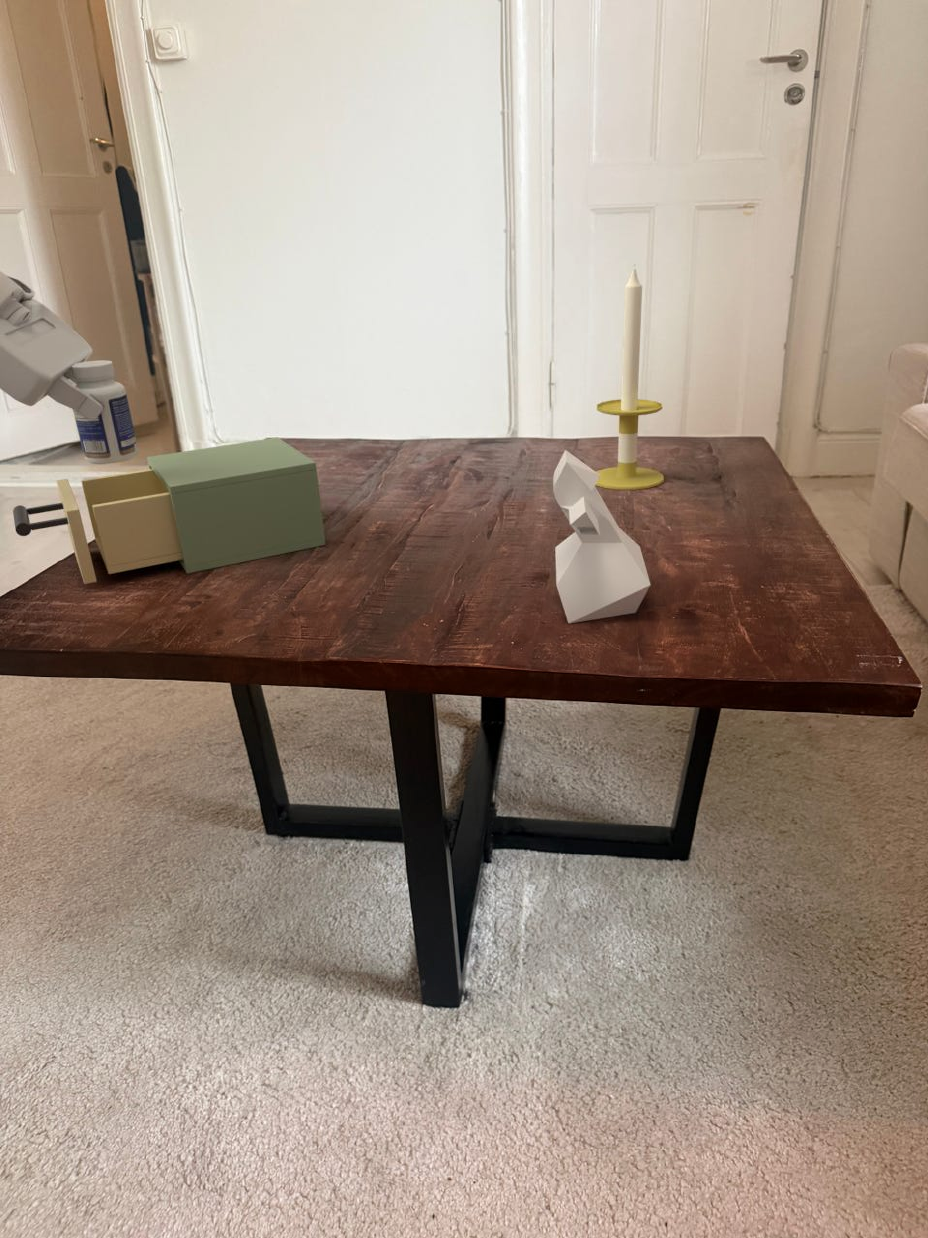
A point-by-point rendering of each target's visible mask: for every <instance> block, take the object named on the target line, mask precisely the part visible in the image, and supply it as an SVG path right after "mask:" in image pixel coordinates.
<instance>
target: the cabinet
mask: <svg viewBox="0 0 928 1238" xmlns="http://www.w3.org/2000/svg"><path fill="white" fill-rule="evenodd" d="M146 460H147V465H148V469H153V470H154V472H155V473H156V474H157V476H158V477H159V478H160V480H161V481H162V482H163V484H164V485H165V486H166V488H167V489H168V490H169V491H170V496H171V501H172V506H173V511H174V516H175V521H176V526H177V531H178V536H179V542H180V547H181V552H182V557H183V559H182V560H178V562H179V564H180V565H181V567H182V568H183V570H184V572H185V573H186V574H192V573H197V572H201V571H207V570H211V569H216V568H221V567H226V566H230V565H236V564H240V563H241V564H242V563H245V562H251V561H254V560H260V559H265V558H269V557H270V558H271V557H273V556H279V555H283V554H288V553H289V554H290V553H294V552H297V551H303V550H307V549H313V548H317V547H322V546H326V537H325V527H324V520H323V512H322V511H323V510H322V502H321V495H320V494H321V493H320V486H319V478H318V469H317V463H316V461H314V460H313V459H311V458H310V457H308V456H307V455H305V454H303V453H302V452H300V451H299V450H298V449H296V448H295V447H293V446H291V445H290V444H288V443H287V442H285V441H284V440H283V439H281V438H280V437H271V438H265V439H257V440H252V441H251V440H250V441H244V442H237V443H231V444H225V445H219V446H218V445H217V446H212V447H204V448H199V449H191V450H185V451H178V452H172V453H171V452H170V453H166V454H159V455H158V454H157V455H152V456H147V457H146Z"/></svg>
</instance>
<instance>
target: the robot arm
mask: <svg viewBox="0 0 928 1238" xmlns="http://www.w3.org/2000/svg"><path fill="white" fill-rule="evenodd" d="M35 295H36V292H35V291H34V290H33V289H32V287H30V286H28V285H27V284H26V283H24V282H23V281H22V280H20V279H17V278H14V277H11V276H9V275H6V274H5V273H4V272H3V271H1V270H0V390H1V391H2V392H4V393H5V394H7V395H8V396H9V397H10V398H12V399H13V400H15V401H17V402H19V403H21V404H23V405H25V406H29V407H33V406H35V405H36V404H37V403H39V402H40V401H42V400H43V399H45V398H46V397H50V398H51V399H53V400H54V402H56V403H58V404H61V405H63V406H64V407H67V408H69V409H72V410H73V409H74V410H76V411H78V412H80V413H81V414H83V415H84V416H86V417H87V418H88V419H90V420H96V419H97V417H98V416H99V415H100V414H101V412H102V411H103V410H104V408H105V406H104V403H102V402H101V401H99V400H98V399H97V398H96V397H94V396H93V395H92V394H90V395H88V394H86V393H85V392H83V391H82V390H80V389H79V388H77V387H75V386H76V385H77V382H76V381H75V380H73V377H72V372H71V367H72V366H73V365H74V364H76V363H81V362H88V361H89V359H90V357H91V356H92V355H93V350H94V349H93V348H92V346H90V344H89V343H88V342H87V340H86V339H84V337H82V336H81V335H80V334H79V333H78V332H77V331H75V330H74V328H72V327H71V326H70V325H69V324H68V323H67V322H65V321H64V320H63V319H62V318H60V317H59V316H58V315H57V314H56V313H55V312H54V311H52V310H51V309H50V308H49V307H47V306H46V305H44V304H43V303H42V302H40V301H38V300H36V299H34V297H35ZM73 383H74V384H76V385H74V384H73Z"/></svg>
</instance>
